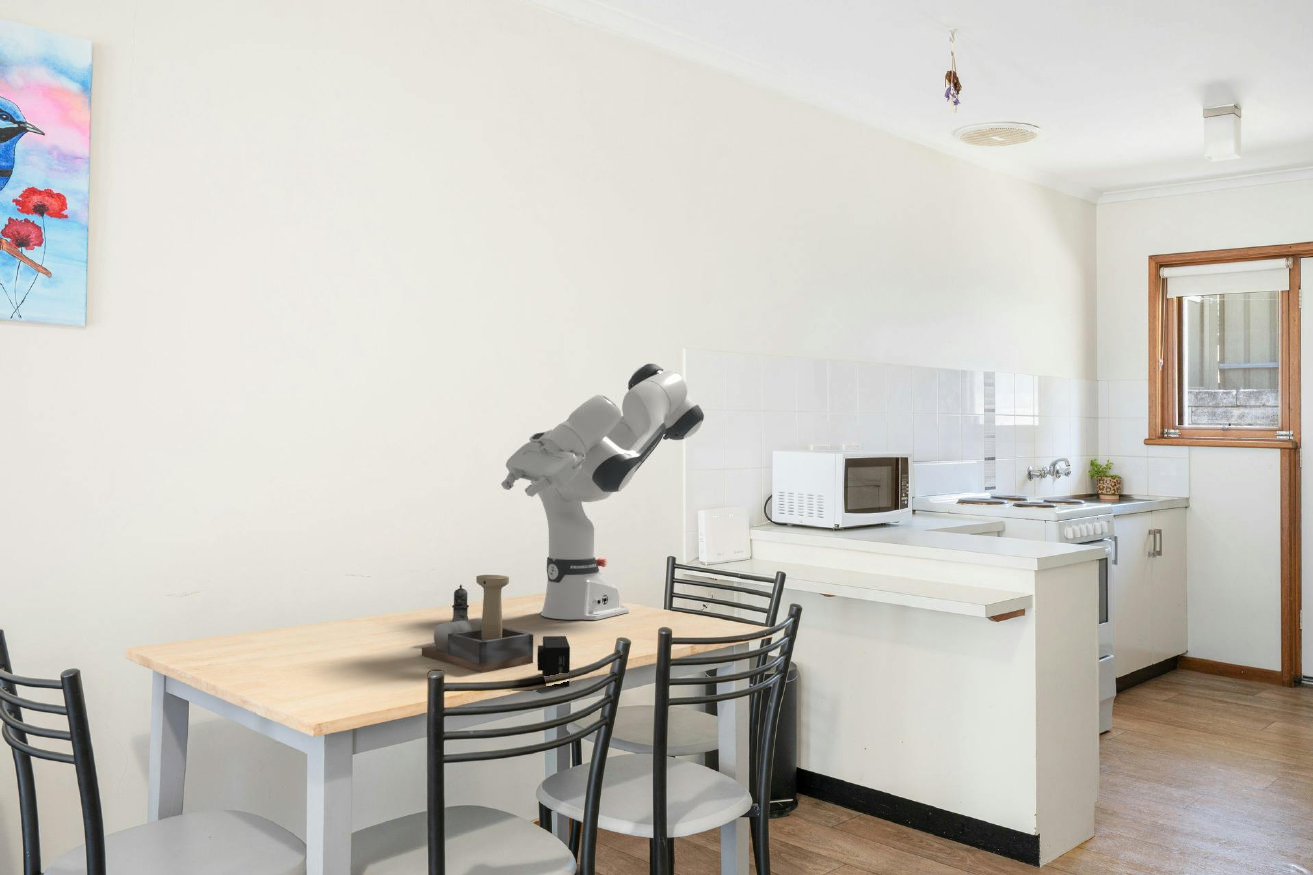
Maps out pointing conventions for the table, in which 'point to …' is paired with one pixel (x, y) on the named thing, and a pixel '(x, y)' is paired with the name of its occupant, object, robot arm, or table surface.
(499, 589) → the handle
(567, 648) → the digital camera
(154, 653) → the table surface
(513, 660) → the base
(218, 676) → the table surface
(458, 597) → the dark grey chess piece
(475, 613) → the table surface
